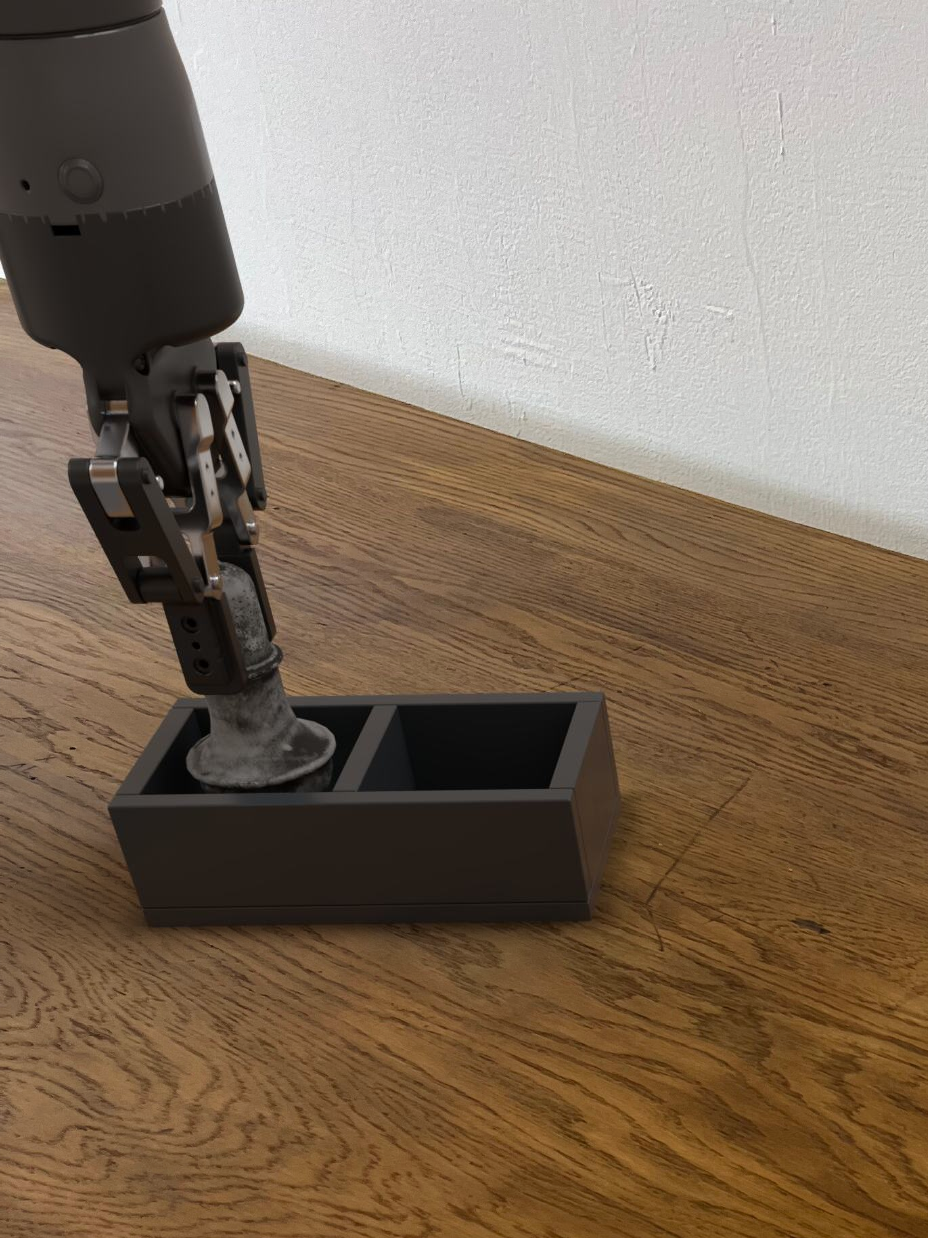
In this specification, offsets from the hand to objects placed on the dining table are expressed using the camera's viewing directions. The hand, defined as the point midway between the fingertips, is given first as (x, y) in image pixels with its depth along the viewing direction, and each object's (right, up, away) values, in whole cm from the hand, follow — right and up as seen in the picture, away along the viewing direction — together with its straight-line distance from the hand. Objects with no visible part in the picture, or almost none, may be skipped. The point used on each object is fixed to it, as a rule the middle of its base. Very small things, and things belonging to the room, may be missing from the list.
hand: (234, 665), depth 81 cm
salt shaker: (0, -5, +5) cm, 7 cm away
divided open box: (+4, -6, +6) cm, 10 cm away
